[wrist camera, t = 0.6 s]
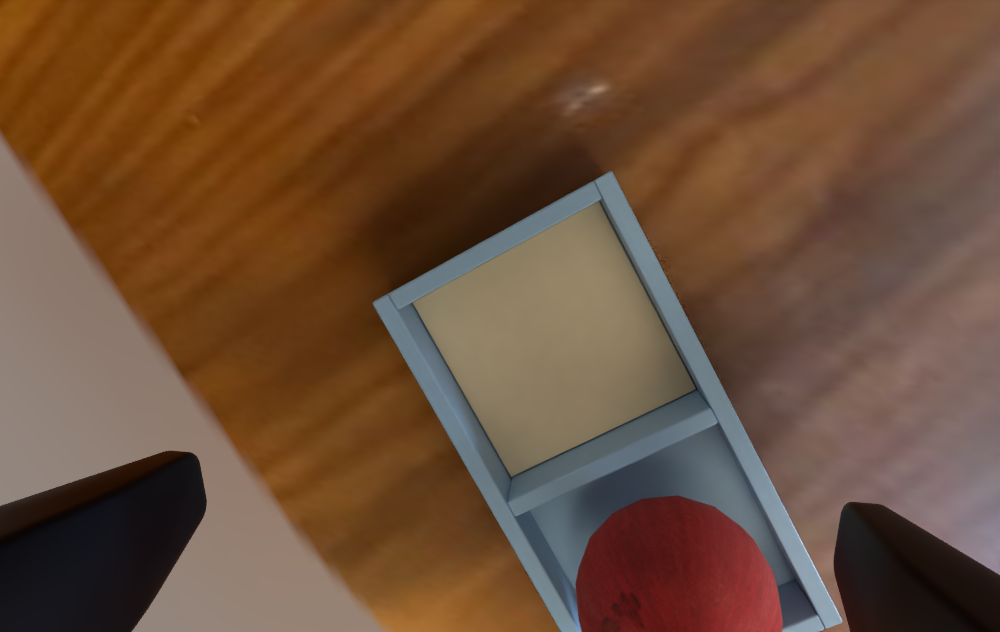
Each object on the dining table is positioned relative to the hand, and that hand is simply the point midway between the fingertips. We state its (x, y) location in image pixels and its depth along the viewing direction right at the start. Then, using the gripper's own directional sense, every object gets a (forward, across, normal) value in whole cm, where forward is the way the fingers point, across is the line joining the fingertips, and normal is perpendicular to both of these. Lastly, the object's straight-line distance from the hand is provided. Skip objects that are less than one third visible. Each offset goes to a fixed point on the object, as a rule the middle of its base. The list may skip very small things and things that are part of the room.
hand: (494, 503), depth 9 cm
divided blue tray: (+13, -2, +6) cm, 15 cm away
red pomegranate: (+13, -3, +9) cm, 16 cm away
